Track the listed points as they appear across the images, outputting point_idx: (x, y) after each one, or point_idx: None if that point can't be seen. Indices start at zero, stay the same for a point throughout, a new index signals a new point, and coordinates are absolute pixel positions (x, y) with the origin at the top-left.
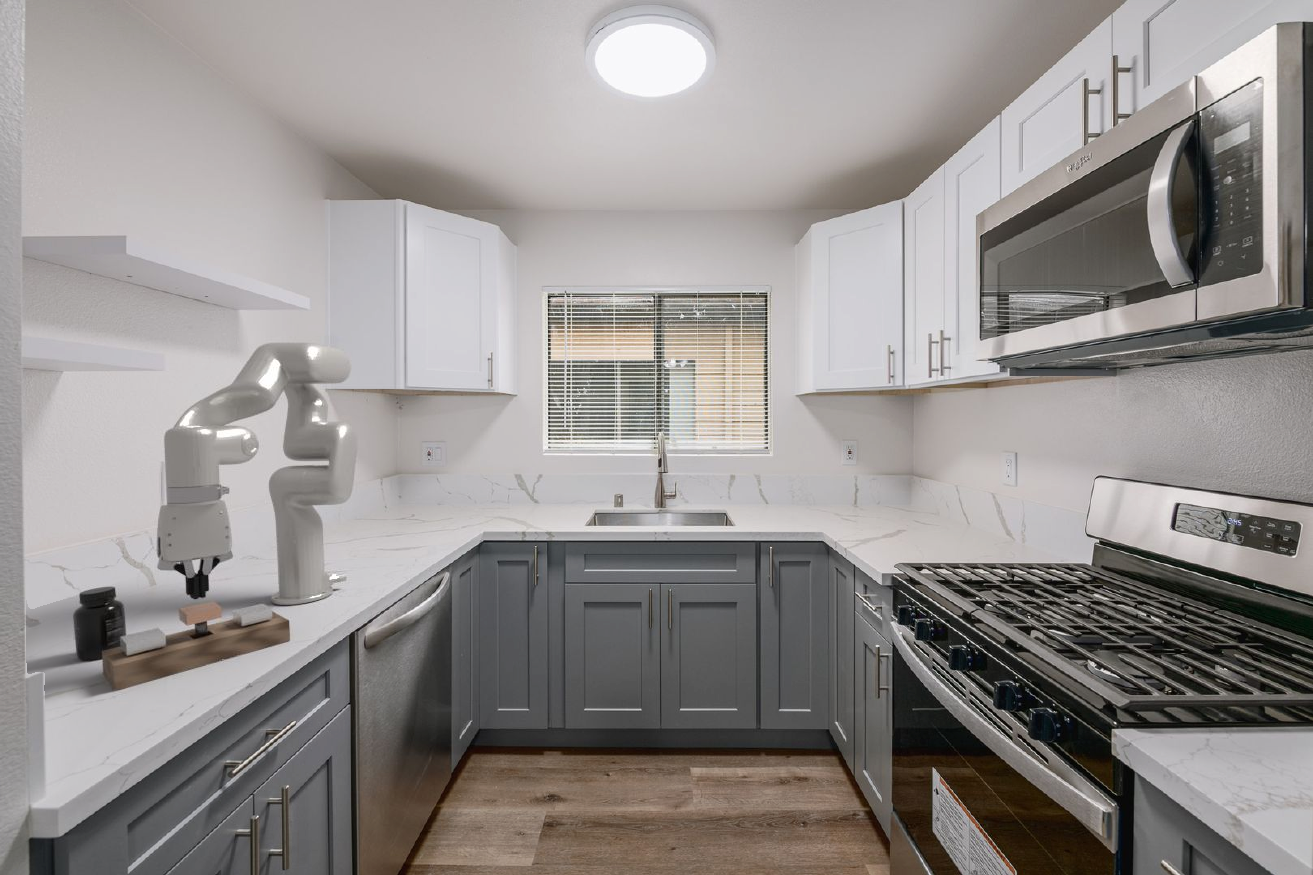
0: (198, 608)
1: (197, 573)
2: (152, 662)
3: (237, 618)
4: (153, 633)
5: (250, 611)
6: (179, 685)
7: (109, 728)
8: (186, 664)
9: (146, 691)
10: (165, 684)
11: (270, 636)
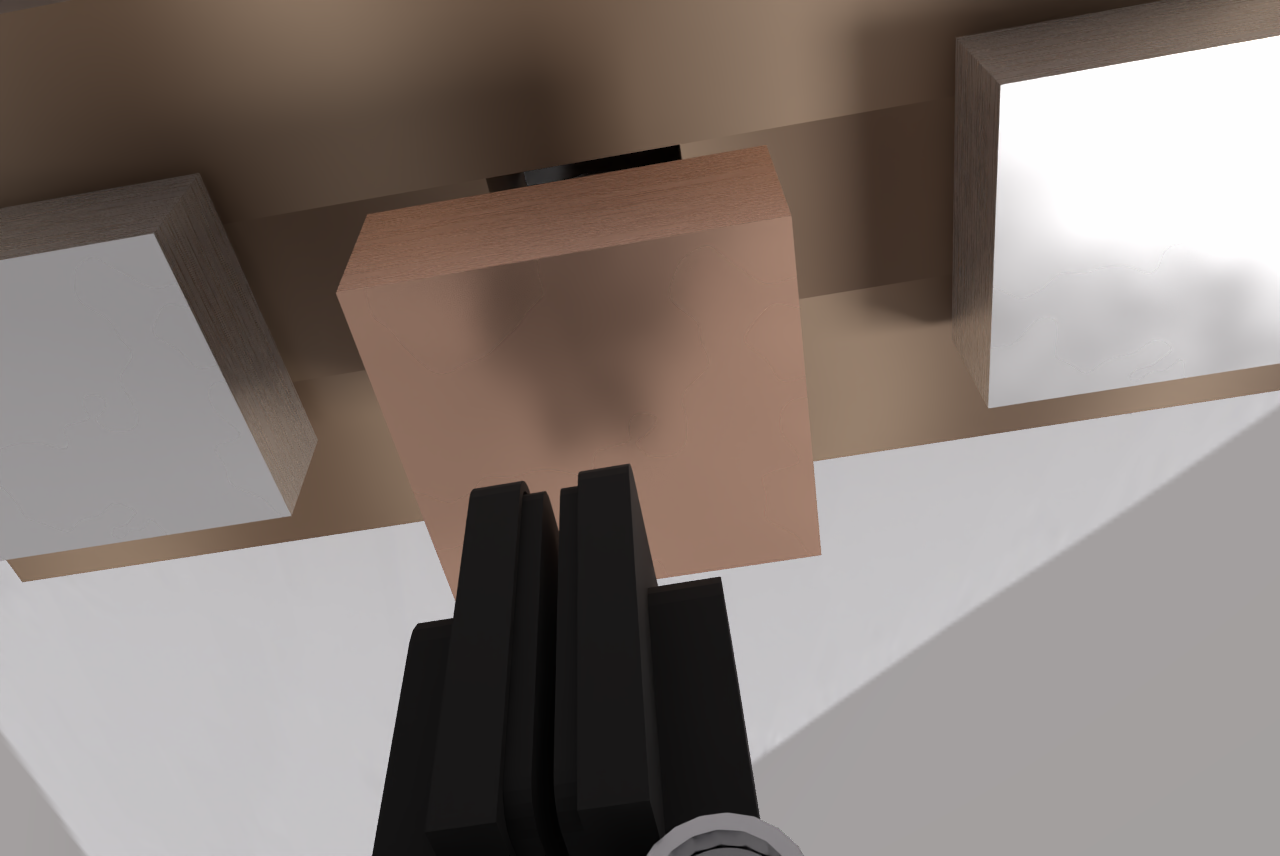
0: (583, 462)
1: (599, 817)
2: None
3: (972, 243)
4: (162, 414)
5: (1123, 305)
6: None
7: (235, 830)
8: None
9: (296, 570)
10: (385, 537)
11: None
